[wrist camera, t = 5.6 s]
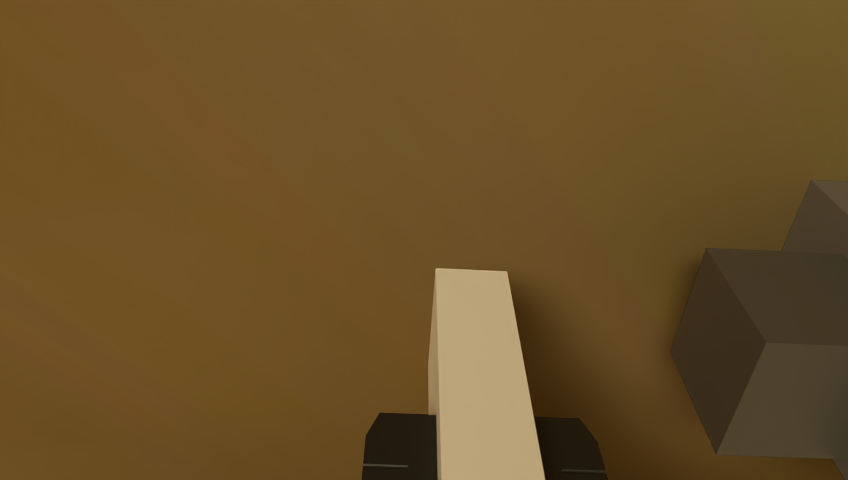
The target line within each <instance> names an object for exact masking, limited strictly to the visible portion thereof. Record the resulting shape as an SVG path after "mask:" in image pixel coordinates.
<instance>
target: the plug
mask: <svg viewBox="0 0 848 480" xmlns="http://www.w3.org/2000/svg"><path fill="white" fill-rule="evenodd" d="M670 353H671V355H672V357H673V359H674V362H675V364H676V366H677V368H678V371H679V373H680V375H681V377H682V380H683V382H684V384H685V386H686V389H687V391H688V393H689V395H690V397H691V400H692V402H693V404H694V406H695V409H696V411H697V413H698V415H699V418H700V420H701V422H702V424H703V426H704V429H705V431H706V433H707V435H708V438H709V440H710V442H711V444H712V447H713V449H714V451H715V453H716V455H734V456H761V457H787V458H813V459H832V460H833V461H834V463H835V465H836V466H837V468H838V469H839V471H840V473H841V474H842V476H843V477H844V479H845V480H848V182H843V181H823V180H811V182H810V184H809V187H808V189H807V191H806V194H805V196H804V199H803V201H802V203H801V206H800V208H799V210H798V213H797V215H796V218H795V220H794V222H793V225H792V227H791V229H790V232H789V234H788V237H787V239H786V241H785V244H784V246H783V248H782V251H759V250H738V249H716V248H706V250H705V253H704V256H703V259H702V261H701V264H700V267H699V270H698V273H697V276H696V279H695V282H694V285H693V288H692V290H691V293H690V296H689V299H688V302H687V305H686V308H685V311H684V314H683V317H682V319H681V322H680V325H679V328H678V331H677V334H676V337H675V340H674V343H673V346H672V348H671V351H670Z"/></svg>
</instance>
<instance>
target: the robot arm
mask: <svg viewBox="0 0 848 480" xmlns="http://www.w3.org/2000/svg"><path fill="white" fill-rule="evenodd" d="M428 394H429V415H427V414H400V413H379V415H378V417H377V418H376V420H375V422H374V423H373V425H372V426H371V428H370V430H369V431H368V433H367V435H366V440H365V451H364V461H363V472H362V480H608V478H607V475H605V467H604V464H603V460H602V457H601V453H600V449H599V446H598V442H597V441H596V440H595V438H594V437H593V436H592V434H591V433H590V432H589V431H588V429H587V428H586V427H585V425H584V424H583V423H582V421H581V420H580V419H577V418H550V417H534V416H533V410H532V405H531V399H530V394H529V389H528V383H527V378H526V372H525V367H524V361H523V356H522V350H521V345H520V339H519V334H518V328H517V323H516V318H515V312H514V307H513V301H512V296H511V290H510V285H509V279H508V274H507V271H486V270H463V269H441V268H436V272H435V285H434V298H433V310H432V323H431V336H430V349H429V362H428Z"/></svg>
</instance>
